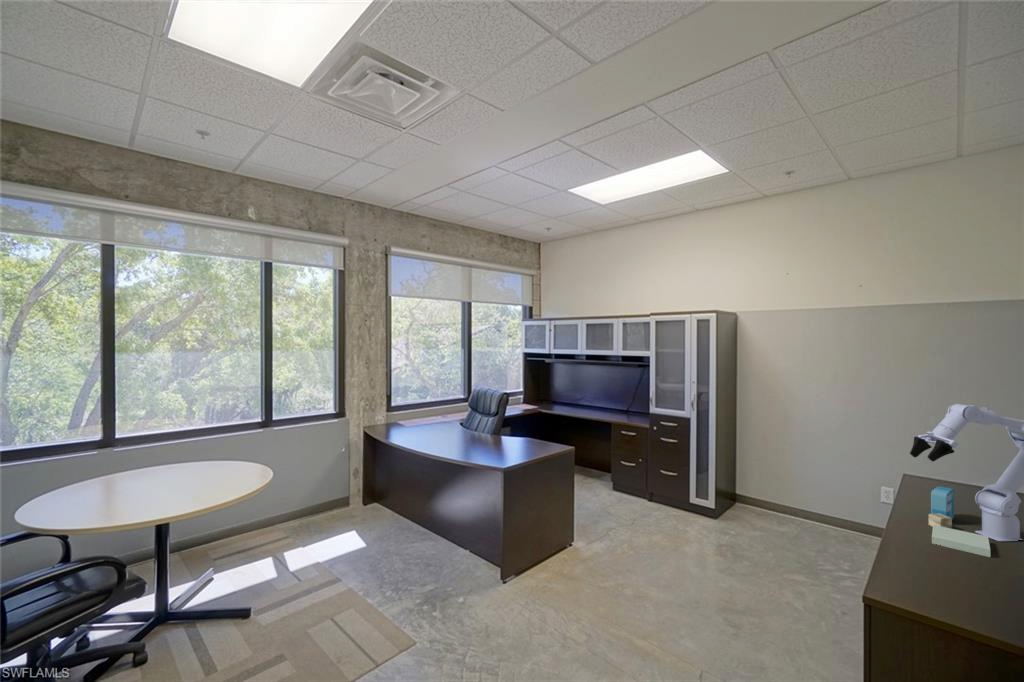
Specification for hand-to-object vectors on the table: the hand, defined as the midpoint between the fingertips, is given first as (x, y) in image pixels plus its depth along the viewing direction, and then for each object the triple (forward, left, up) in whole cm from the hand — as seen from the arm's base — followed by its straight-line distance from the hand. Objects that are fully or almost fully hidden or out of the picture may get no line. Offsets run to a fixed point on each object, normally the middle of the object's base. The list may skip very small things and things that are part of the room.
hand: (921, 457), depth 159 cm
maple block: (-15, -7, -29) cm, 34 cm away
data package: (-24, -14, -29) cm, 41 cm away
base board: (-8, +6, -29) cm, 31 cm away
